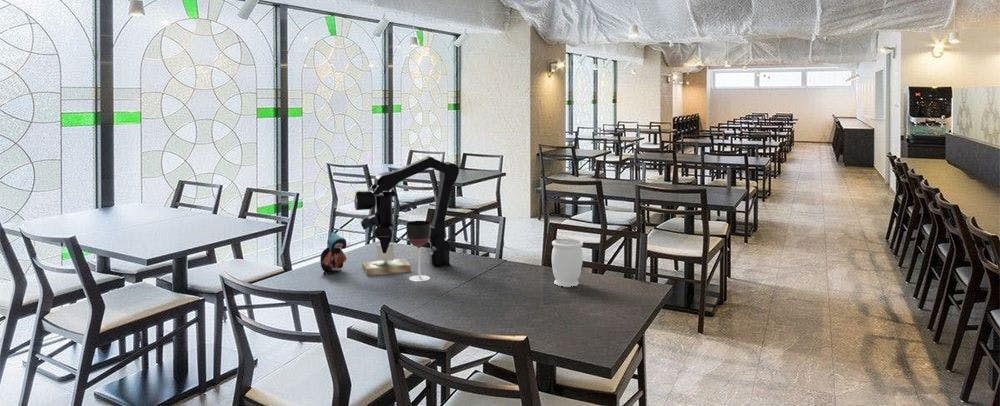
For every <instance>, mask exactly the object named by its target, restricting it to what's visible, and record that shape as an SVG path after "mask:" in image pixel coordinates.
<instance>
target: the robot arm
mask: <svg viewBox="0 0 1000 406" xmlns="http://www.w3.org/2000/svg"><path fill="white" fill-rule="evenodd" d="M429 169H432V170H435V171H438V173H439V174H438V175H439V177H438V179H439V183H440V184H439V189H438V193H437V199H436V202H435V203H436V204H435V209H434V214H433V219H432V221H431V222H430V235H429V239H428V241H427V243H428V244H430V246H431V252H430V253H429V262H430V264H431V266H432V267H434V268H439V267H441V268H442V267H448V266H451V262H450V251H451V244H450V243H449V242H448V241H447V240H446V229H445V228H446V227H445V222H446V217H447V213H448V208H449V203H450V198H451V193H452V188H453V186H454V184H455V183H456V181H457V179H458V176H459V174H460V168H459V167H458V165H457V164H455V163H453V162H450V161H440V160H438V159H436V158H434V157H432V156H431V155H426V156H424V157H423V158H421V159H419V160H416V161H414V162H412V163H410V164H408V165H405V166H402V167H401V168H399V169H396V170H392V171H386V172H381V173H377V175H375V176H374V180H373V181H374V182H373V184H372V185H371V187H370V188H369V189H368V190H365V191H364V190H361V191H360V190H355V196H354V200H353V201H354V202H353V203H354V209H355V210H356V211H362V210H363V211H365V210H366V211H367V210H373V208H374V207H375V213H374V214H373V215H370V216H367V217H364V218H362V219H361V220H360V221H359V222H360V224H361V227H362V229H363V230H366V229H368V228H371V227H373V226H375V228H374V231H373V232H374V237H375V238H376V239H378V240H379V244H381V248H382V251H383V253H386V252H387V249H388V246H389V245H390V244H391V241H392V237H393V231H394V227H395V221H394V219H393V197H398V194H397V193H396V191H394V189H393V188H394V187H396V186H398V184H399V183H400V182H402V181H404V180H405V179H408V178H410V177H413V176H414V175H417V174H419V173H421V172H424V171H425V170H429Z"/></svg>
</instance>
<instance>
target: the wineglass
mask: <svg viewBox="0 0 1000 406" xmlns="http://www.w3.org/2000/svg"><path fill="white" fill-rule="evenodd" d="M430 225H431V222H430V221H427V220H410V221H408V222H406V232H407V233H406V234H407V238H408V241H409V243H410V244H411V245H413V246H414V247H416V248H417V269H418V271H417V272H418V275H412V276H409V277H408V279H409V281H412V282H426V281H428V280H430V279H431V277H430V276H428V275H425V274H424V275H422V274H421V248H422V247H423V246H425V245H426V244H427V243H428V242H427V241H428V239H429V235H430Z"/></svg>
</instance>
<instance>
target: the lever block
mask: <svg viewBox="0 0 1000 406" xmlns="http://www.w3.org/2000/svg"><path fill="white" fill-rule="evenodd" d="M383 263H384V260H373V261H363V262H361V269H362V271H363V272H364V274H365V275H366V276H367V277H370V276H379V275H381V276H382V275H389V274H391V275H392V274H398V273H407V272H408V273H410V272H412V271H411V268H412V267H411V264H410V262H408V261H407V260H406V259H405V258H404V257H403V258H394V260H388V263H386V264H385V265H384V266H381V265H382V264H383Z"/></svg>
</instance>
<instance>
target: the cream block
mask: <svg viewBox="0 0 1000 406" xmlns="http://www.w3.org/2000/svg"><path fill="white" fill-rule="evenodd" d="M376 259H377V260H376V261H382V260H384V263H383V264H382V265H381V266H384V265H385V264H386V263H388V260H394V259H395V244H389V246H388V249H387V252H386V253H383V251H382V248H381V244H380V243H378V244H376Z"/></svg>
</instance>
